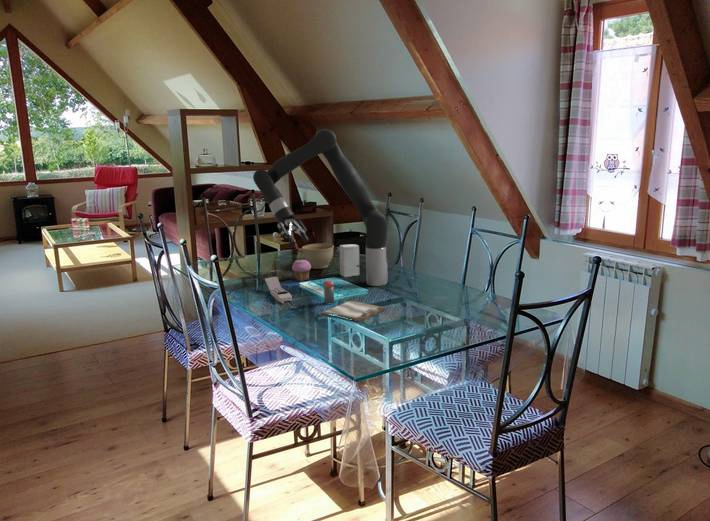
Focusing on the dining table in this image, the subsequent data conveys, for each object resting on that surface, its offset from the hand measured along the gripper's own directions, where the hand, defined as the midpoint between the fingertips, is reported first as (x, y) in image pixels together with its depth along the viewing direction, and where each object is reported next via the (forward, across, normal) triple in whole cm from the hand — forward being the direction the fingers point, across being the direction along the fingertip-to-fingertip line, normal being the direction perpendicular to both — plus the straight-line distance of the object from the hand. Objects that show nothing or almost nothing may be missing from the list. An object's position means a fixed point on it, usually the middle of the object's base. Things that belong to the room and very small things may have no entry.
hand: (300, 243), depth 246 cm
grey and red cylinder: (+27, +1, +4) cm, 28 cm away
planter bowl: (0, +49, +34) cm, 60 cm away
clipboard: (+37, -4, -8) cm, 38 cm away
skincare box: (+15, +42, +16) cm, 48 cm away
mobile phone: (+12, -1, +24) cm, 27 cm away
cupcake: (+6, +25, +28) cm, 38 cm away
